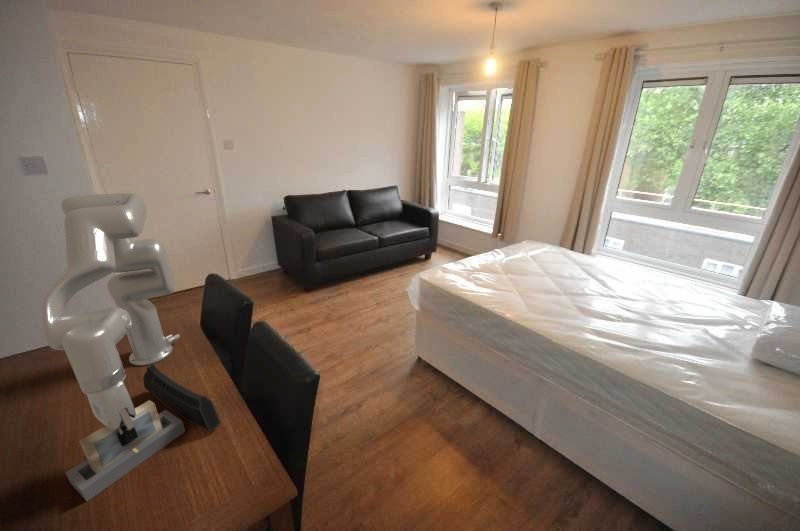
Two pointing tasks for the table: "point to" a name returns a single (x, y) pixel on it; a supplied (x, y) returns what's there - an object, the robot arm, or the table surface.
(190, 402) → the magazine
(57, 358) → the table surface
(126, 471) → the gray rectangular tray
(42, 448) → the table surface
